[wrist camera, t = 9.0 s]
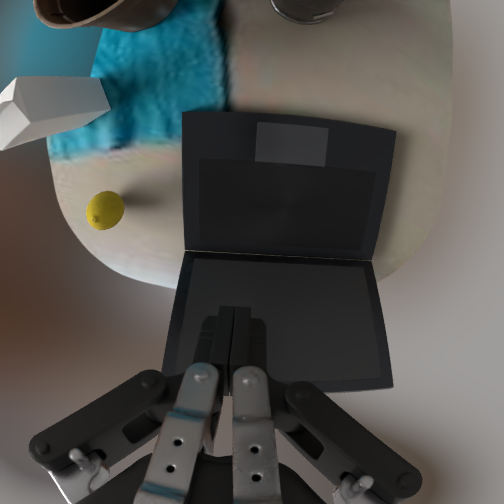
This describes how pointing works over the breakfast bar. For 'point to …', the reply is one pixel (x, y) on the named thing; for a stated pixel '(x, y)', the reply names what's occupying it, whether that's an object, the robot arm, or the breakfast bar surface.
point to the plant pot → (103, 13)
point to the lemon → (105, 210)
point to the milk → (48, 107)
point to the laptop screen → (289, 316)
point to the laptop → (283, 184)
